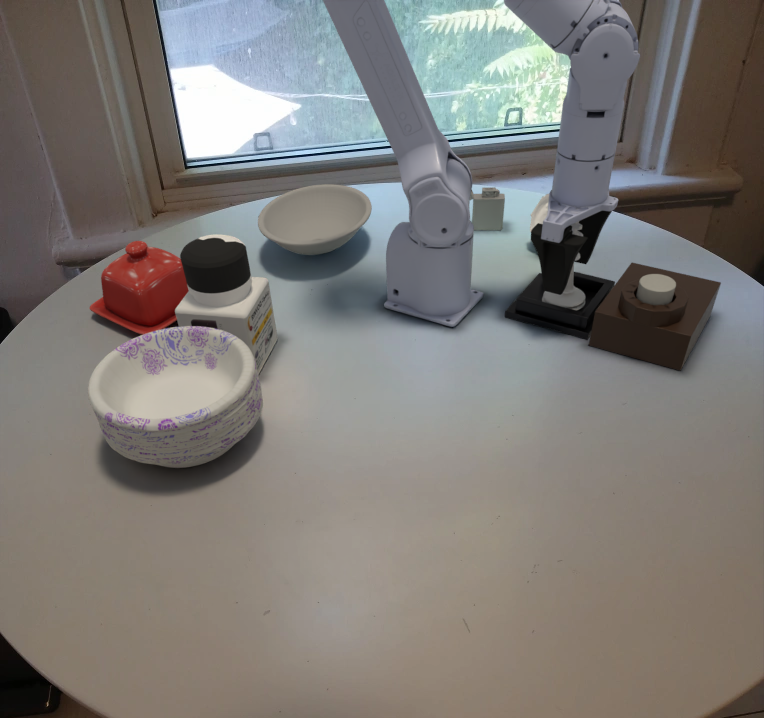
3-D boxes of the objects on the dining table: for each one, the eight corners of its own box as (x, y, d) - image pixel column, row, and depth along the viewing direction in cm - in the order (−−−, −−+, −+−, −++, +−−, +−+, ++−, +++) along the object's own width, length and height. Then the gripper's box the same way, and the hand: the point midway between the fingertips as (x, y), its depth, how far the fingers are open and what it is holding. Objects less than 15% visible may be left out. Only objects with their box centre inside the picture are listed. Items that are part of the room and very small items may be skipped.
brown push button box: (587, 346, 80) (597, 297, 76) (624, 295, 87) (634, 247, 83) (679, 372, 76) (695, 321, 72) (710, 316, 83) (726, 267, 79)
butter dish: (149, 347, 83) (128, 278, 77) (87, 316, 88) (62, 250, 82) (222, 302, 89) (207, 235, 83) (160, 276, 94) (142, 212, 88)
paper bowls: (127, 510, 65) (98, 443, 59) (101, 414, 75) (75, 348, 69) (288, 460, 69) (276, 392, 63) (244, 374, 79) (230, 309, 73)
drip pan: (504, 317, 85) (506, 299, 83) (538, 278, 90) (540, 261, 89) (587, 339, 81) (590, 321, 79) (617, 297, 87) (621, 280, 85)
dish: (291, 215, 105) (287, 180, 102) (387, 224, 102) (386, 188, 99) (243, 275, 94) (236, 238, 90) (350, 287, 91) (347, 249, 87)
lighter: (501, 224, 101) (506, 164, 95) (502, 230, 100) (507, 170, 94) (450, 224, 101) (452, 165, 96) (450, 230, 100) (452, 170, 94)
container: (257, 379, 78) (235, 265, 69) (190, 372, 79) (159, 260, 70) (279, 338, 83) (261, 228, 74) (215, 333, 85) (189, 224, 75)
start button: (631, 301, 75) (634, 286, 74) (642, 285, 78) (645, 270, 76) (666, 310, 74) (670, 294, 73) (676, 293, 76) (680, 278, 75)
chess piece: (559, 316, 83) (572, 231, 76) (533, 297, 86) (543, 213, 79) (594, 304, 84) (610, 220, 77) (567, 286, 87) (580, 203, 80)
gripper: (599, 184, 67) (576, 315, 77) (648, 132, 76) (622, 256, 85) (528, 171, 70) (515, 299, 80) (582, 122, 78) (564, 243, 88)
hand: (566, 276), depth 83 cm, fingers open, 7 cm apart
